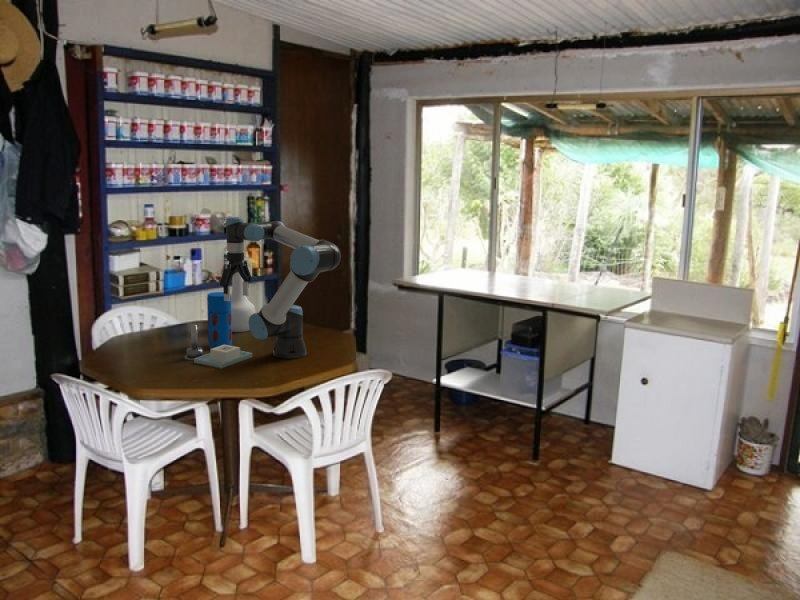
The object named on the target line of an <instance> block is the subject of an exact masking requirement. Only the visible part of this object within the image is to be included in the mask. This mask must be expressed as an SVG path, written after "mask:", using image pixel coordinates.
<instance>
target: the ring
mask: <svg viewBox="0 0 800 600" xmlns="http://www.w3.org/2000/svg"><path fill="white" fill-rule="evenodd" d="M240 351H241V347H238V346H234V345H232V346H229V345H222V346H219V347H215V348H210V351H209V353H210V355H211V360H212V361H217V362H222V363H224V362H227V361H230V360H232V359H235V358H238V357H240Z"/></svg>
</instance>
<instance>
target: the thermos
mask: <svg viewBox="0 0 800 600" xmlns="http://www.w3.org/2000/svg"><path fill="white" fill-rule="evenodd" d="M231 294H232V293H230V301H224V291H214V292H209V293H207V295H206V296H207V297H206V301H207V302H206V303H207V304H206V305H207V334H208V335H207V337H208V338H207V339H208V347H209V348H210V349H212V348H215V347H219V346H222V345H229V346H233V343H232V342H233V332H232V316H231Z"/></svg>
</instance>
